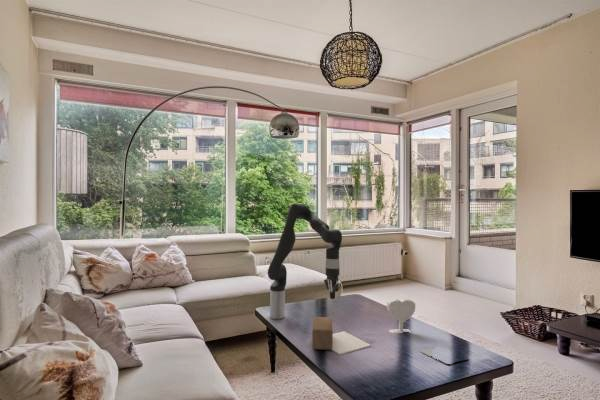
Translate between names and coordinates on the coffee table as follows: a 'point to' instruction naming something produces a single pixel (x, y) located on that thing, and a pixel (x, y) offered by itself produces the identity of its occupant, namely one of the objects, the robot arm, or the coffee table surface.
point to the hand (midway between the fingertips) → (332, 298)
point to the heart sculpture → (401, 312)
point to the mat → (347, 343)
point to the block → (322, 333)
